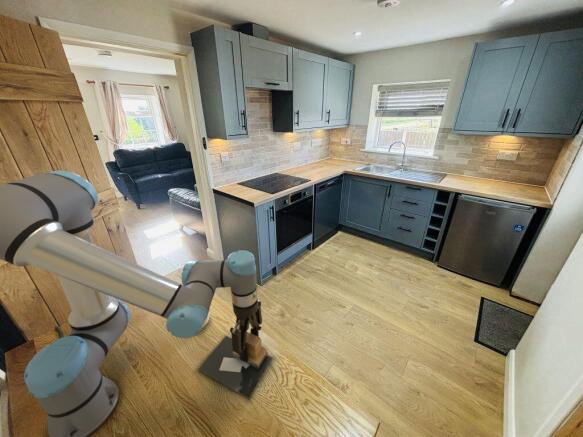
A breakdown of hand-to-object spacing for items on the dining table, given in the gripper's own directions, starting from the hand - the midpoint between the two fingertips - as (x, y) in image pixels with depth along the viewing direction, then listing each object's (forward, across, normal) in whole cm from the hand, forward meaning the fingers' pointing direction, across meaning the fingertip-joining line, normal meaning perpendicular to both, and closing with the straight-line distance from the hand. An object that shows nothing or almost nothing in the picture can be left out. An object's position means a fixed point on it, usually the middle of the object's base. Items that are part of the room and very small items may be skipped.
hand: (249, 351), depth 80 cm
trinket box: (+4, +3, +27) cm, 27 cm away
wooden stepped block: (+2, 0, 0) cm, 2 cm away
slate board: (+4, -4, +3) cm, 6 cm away
